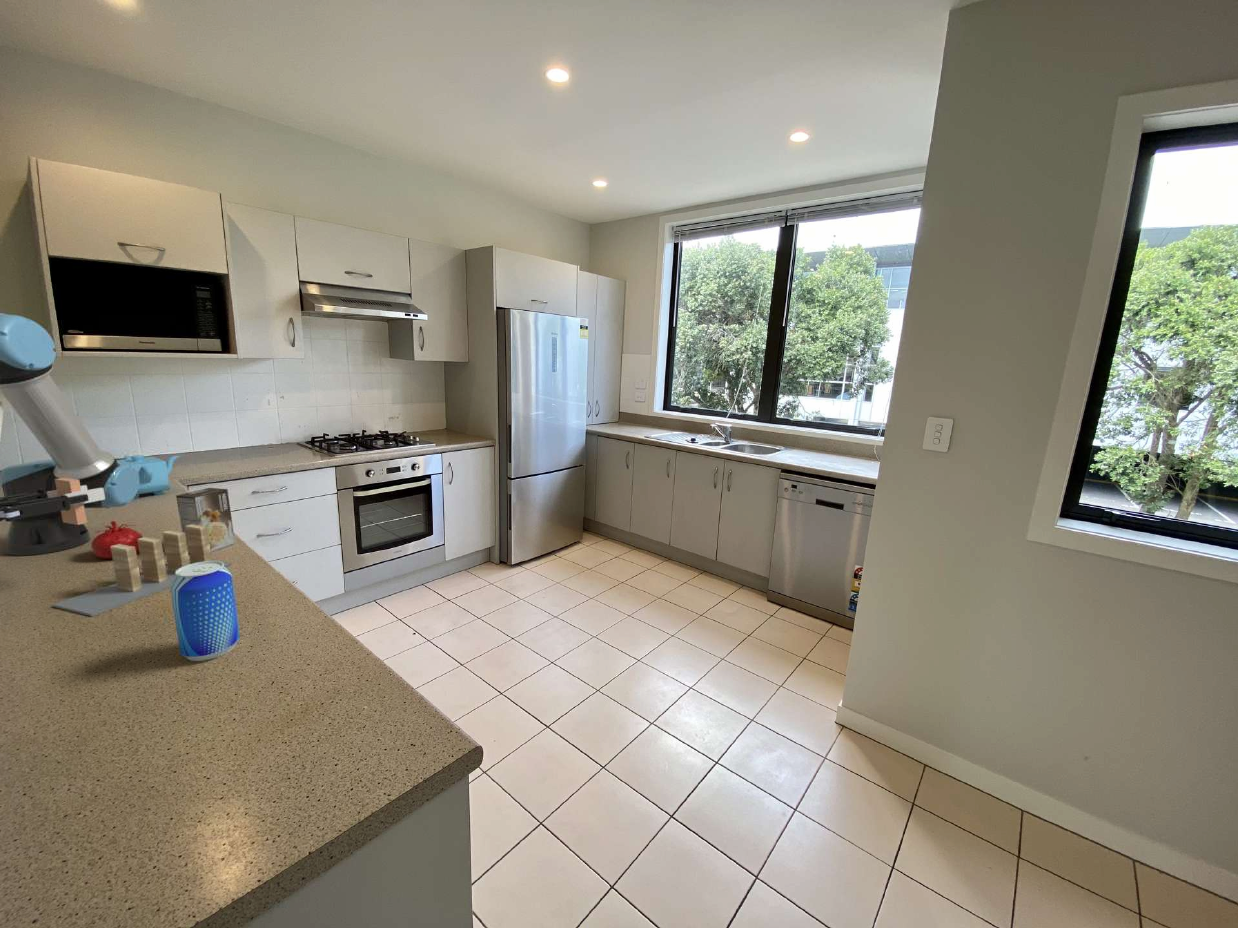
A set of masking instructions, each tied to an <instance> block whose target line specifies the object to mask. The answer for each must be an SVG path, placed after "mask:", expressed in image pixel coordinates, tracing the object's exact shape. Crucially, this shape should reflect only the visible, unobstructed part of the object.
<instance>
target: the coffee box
mask: <svg viewBox="0 0 1238 928" xmlns="http://www.w3.org/2000/svg"><path fill="white" fill-rule="evenodd" d="M175 497H176V501H177V503H176V504H177V510H178V514H179V515H178V516H179V521H180V527H181V532H184V533H185V536H186V543H187V550H188V554H189V547H188V540H187V534H186V527H185V526H187V525H191V524H195V525H201V526H207V529H208V536H209V544H210V551H211V553H212V552H215V551H217V550H221V549H223V548H226V547H229V546H231V545H234V544H236V539H235V531H234V525H233V519H232V512H231V504H230V499H229V491H228V489H227V488H219V487H218V488H217V487H206V488H203V489H202V488H201V489H198V490H194V491H190V492H186V493H181V494H177V495H175Z"/></svg>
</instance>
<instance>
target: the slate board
mask: <svg viewBox="0 0 1238 928" xmlns="http://www.w3.org/2000/svg"><path fill="white" fill-rule="evenodd" d="M212 561H220V562H223V564H224V567H225V568H227V567H230V566H232V565H233V564H232V562H228V561H223V560H217V559H212ZM189 563H190V564H191V561H190V558H189ZM165 568H166V574H167V580H166V581H164V582H161V583H158V582H153V581H148V580H144V575H143V574H140V579H141V585H142V589H141V590H138V591H135V592H131V591H126V590H122V589H118V586H117V582H116V583H113V584H110V585H107V586H104V587H102V588H98V589H95V590H92V591H90V592H85V593H84V594H80V595H77V596H74V597H71V598H67V599H66V600H62V601H59V602H56V603H52V606H51V607H52V608H56V609H60V610H64V611H68V612H71V613H72V612H73V613H76V614H81V615H83V616H89V617H93V616H96V615H99V614H102V613H104V612H107V611H111V610H113V609H115V608H119V607H121V606H124V605H126V604H130V603H132V602H135V601H137V600H140V599H143V598H146V597H148V596H151V595H153V594H156V593H159V592H161V591H164V590H167V589H170V585H171V583H172V581H173V579H174V578H175V576H176V575H175V573H174V572H169V571H168V565H167V566H165Z"/></svg>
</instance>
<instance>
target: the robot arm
mask: <svg viewBox="0 0 1238 928" xmlns="http://www.w3.org/2000/svg"><path fill="white" fill-rule="evenodd" d="M54 349H56V346H55V342H54V340H53V338H52V336H51V335H50V334H49V333H48V331H46V329H45V328H44V327H43V326H42V325H40V324H39V323H38V322H35V320H32V319H30V318H27V317H24V316H21V315H17V314H7V313H0V393H1V395H2V396H3V397H4V398H5V399H6V401H7V402H8V404H10V406H11V408H13V410H14V412H16V414H17V415H18V416H19V418H20V419H21V420H22V422H23V423H24V424H25V425H26V427H27V428H28V429H29V431H30V432H31V433H32V435H33V436H34V438H36V440H37V441H38V442H39V444H40V445H41V446H42V447H43V449H44V450H45V451H46V453H47V455H48V456H49V457H50V458H51V459H45V460H38V461H37V460H36V461H32V462H31V461H30V462H25V463H19V464H13V465H9V466H6V467H4V468H2V470H0V477H1V478H0V479H1V480H0V481H1V482H0V485H1V487H2V488H1V489H2V491H3V496H0V522H2V521H5V522H8V523H9V522H10V525H9V528H8V532H7V535H6V539H5V542H4V548H5V553H6V554H8V555H10V556H33V555H41V554H43V555H44V554H49V553H55V552H61V551H65V550H68V549H71V548H76V547H79V546H81V545H84V544H86V543H88V542H89V541H90V540H91V535H90V531H89V529H88V528H87V527H86V525H85V523H84V524H80V525H76V524H70V523H65V522H63V519H62V514H61V510H66V511H69V510H70V509H71V506H74V505H79V504H84V508H85V509H109V508H119V507H120V508H121V507H125V506H126V505H128V504H130V503H131V502H132V501H133V500H134V499H133V498H134V497H135V495H136V493H137V491H138V487H139V475H138V472H137V470H136V469H135V468H134V467H133V466H131V465H127V464H122V465H120V464H118V462H117V461H116V460H117V459H116V458H115V457H114V455H113V454H112V453H110V452H108V451H104V450H101V449H100V448H99V446H98V444H97V442H96V441H95V440H94V439H93V437H92V436H91V434H90V432H88V430H87V428H86V427H85V425H84V424H83V422H82V421H81V420H80V418H79V416H78V415H77V414H76V412H75V411H74V410H73V407H72V406H71V404H70V403H69V402H68V401H67V399H66V397H65V396H64V395H63V393H62V391H61V390H60V388H59V387H58V386H57V384H56V383H55V382H54V380H53V378H52V377H51V376H50V373H51V372H52V370H53V368H54V365H53V363H54V362H55V360H56V356H57V352H56V351H54ZM59 478H70V479H77V480H79V481H80V487H81V491H80V492H74V493H68V494H63V496H58V492H57V488H56V483H55V479H59Z"/></svg>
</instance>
